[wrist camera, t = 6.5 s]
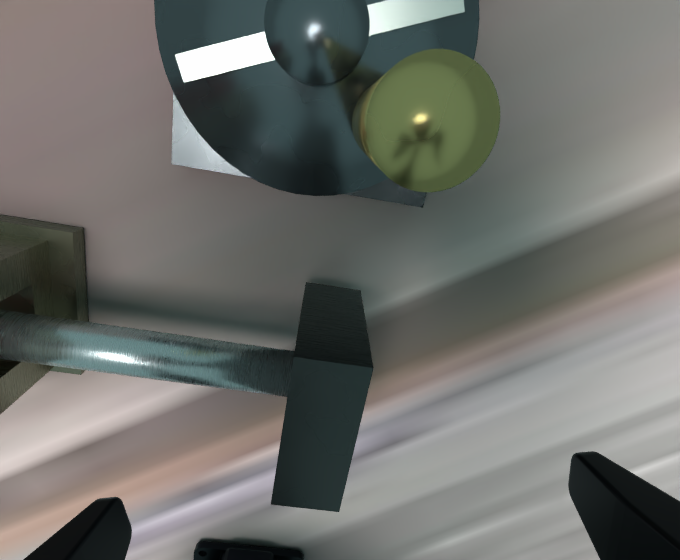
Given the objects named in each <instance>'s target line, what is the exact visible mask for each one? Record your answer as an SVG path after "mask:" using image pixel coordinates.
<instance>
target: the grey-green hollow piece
mask: <svg viewBox="0 0 680 560" xmlns="http://www.w3.org/2000/svg"><path fill="white" fill-rule="evenodd" d="M0 310H7V311H14V312H22V313H29V314H36V315H43V316H50V317H57V318H64V319H71V320H78V321H85V322H88V308H87V288H86V269H85V249H84V229H83V228H81V227H74V226H68V225H62V224H55V223H49V222H43V221H37V220H30V219H24V218H18V217H11V216H5V215H0ZM49 371H57V372H64V373H72V374H80V375H81V374H82V373H83V372H84V371H85V370H80V369H73V368H65V367H58V366H50V365H43V364H35V363H28V362H20V361H13V360H5V359H0V414H1V413H2V412H4V411H5V410H6V409H7V408H8V407H9V406H10V405H11V404H13V403H14V402H15V401H16V400H17V399H18V398H19V397H20V396H22V395H23V394H24V393H25V392H26V391H27V390H28V389H29V388H31V387H32V386H33V385H34V384H35V383H36V382H37V381H39V380H40V379H41V378H42V377H43V376H44V375H45V374H46V373H48V372H49Z"/></svg>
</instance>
